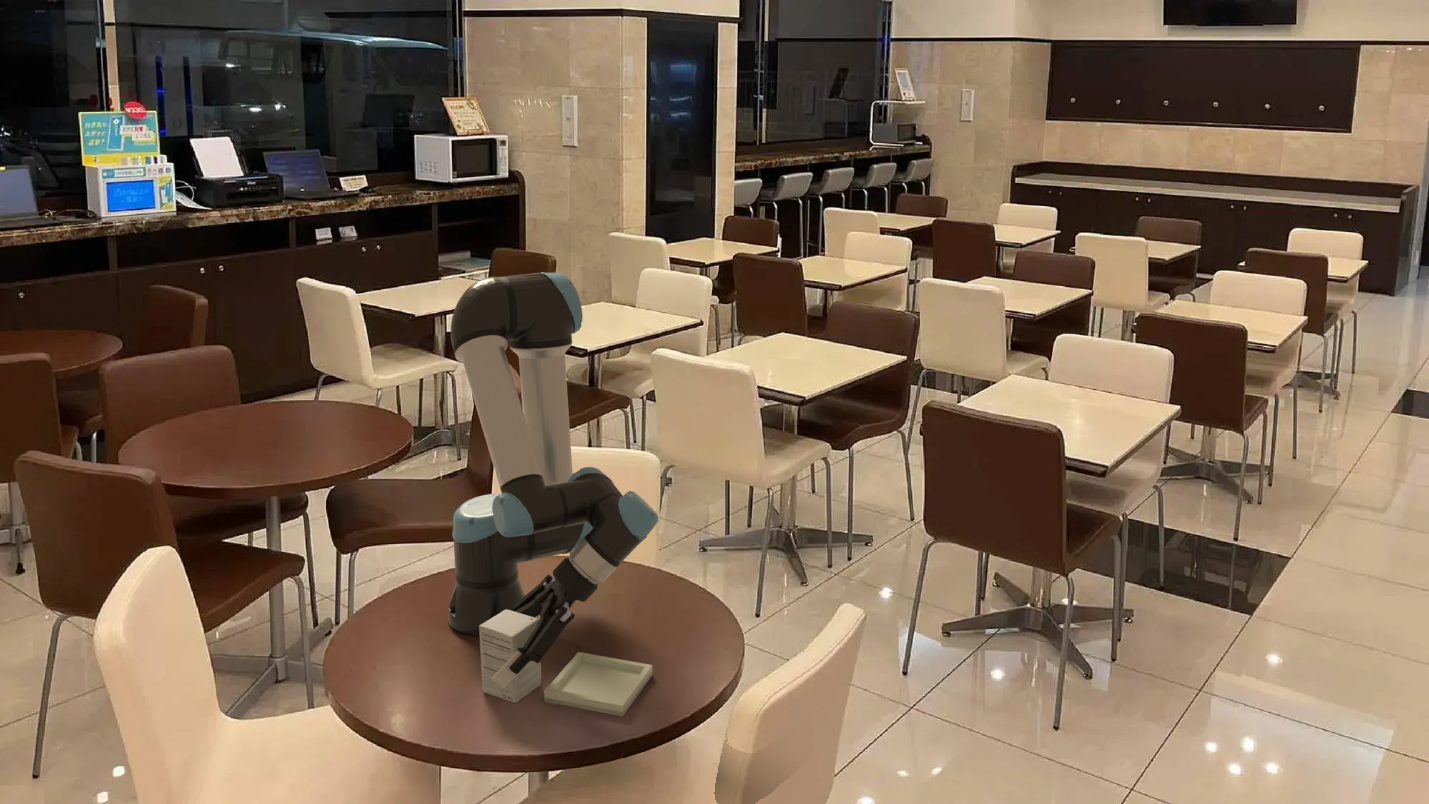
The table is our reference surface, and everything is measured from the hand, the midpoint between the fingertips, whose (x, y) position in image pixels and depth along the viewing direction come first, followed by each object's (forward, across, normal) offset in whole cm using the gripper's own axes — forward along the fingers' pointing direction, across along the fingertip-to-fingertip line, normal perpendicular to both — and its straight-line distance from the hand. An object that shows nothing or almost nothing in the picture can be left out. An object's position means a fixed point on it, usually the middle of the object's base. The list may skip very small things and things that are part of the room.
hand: (492, 667), depth 198 cm
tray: (-9, -4, -15) cm, 18 cm away
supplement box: (+1, 0, -6) cm, 6 cm away
